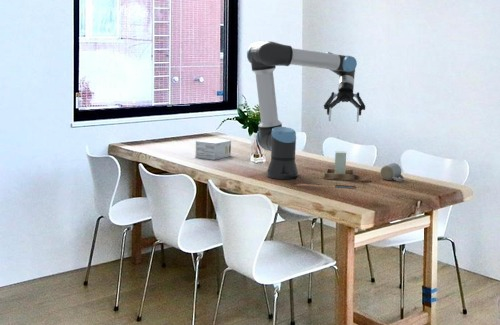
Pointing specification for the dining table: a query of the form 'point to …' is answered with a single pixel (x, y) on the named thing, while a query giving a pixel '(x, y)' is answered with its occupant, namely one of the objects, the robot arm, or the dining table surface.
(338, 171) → the block
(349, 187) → the coaster
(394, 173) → the ceramic mug
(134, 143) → the dining table surface
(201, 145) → the supplement box
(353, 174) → the crate
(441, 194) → the dining table surface
